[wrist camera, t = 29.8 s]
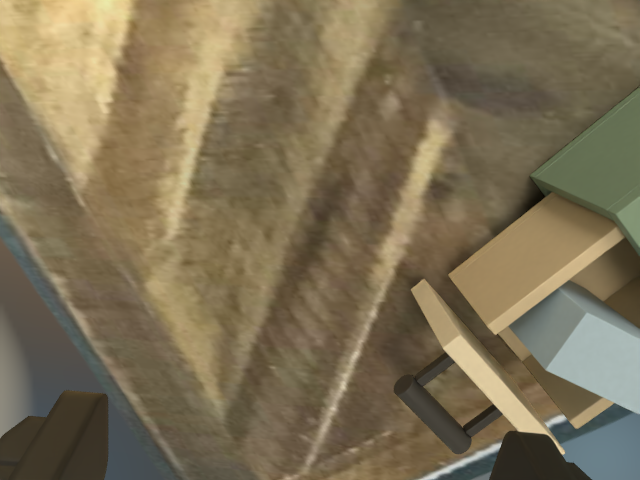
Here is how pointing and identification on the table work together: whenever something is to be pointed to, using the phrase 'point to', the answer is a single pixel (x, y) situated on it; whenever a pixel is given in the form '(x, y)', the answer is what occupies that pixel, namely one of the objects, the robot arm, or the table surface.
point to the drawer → (512, 302)
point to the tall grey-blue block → (584, 343)
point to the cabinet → (602, 168)
